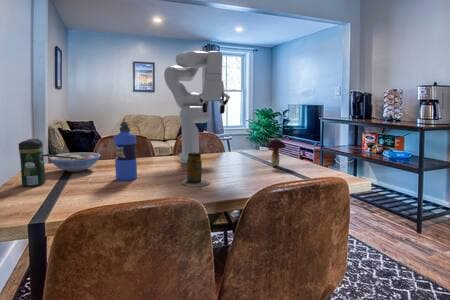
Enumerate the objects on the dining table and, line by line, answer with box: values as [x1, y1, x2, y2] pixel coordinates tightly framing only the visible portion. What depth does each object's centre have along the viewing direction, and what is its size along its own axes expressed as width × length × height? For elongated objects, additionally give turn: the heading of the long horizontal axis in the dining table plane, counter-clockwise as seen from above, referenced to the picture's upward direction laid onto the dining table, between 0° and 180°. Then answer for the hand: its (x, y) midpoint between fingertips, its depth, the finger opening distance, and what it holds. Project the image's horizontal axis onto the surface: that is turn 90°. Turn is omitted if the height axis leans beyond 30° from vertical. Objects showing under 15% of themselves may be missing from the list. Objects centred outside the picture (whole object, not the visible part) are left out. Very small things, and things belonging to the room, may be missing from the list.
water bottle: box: [113, 121, 138, 182], centre depth 143 cm, size 9×9×25 cm
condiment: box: [183, 152, 207, 184], centre depth 136 cm, size 7×8×12 cm
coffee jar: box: [18, 138, 47, 188], centre depth 132 cm, size 10×8×19 cm
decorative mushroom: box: [265, 138, 287, 167], centre depth 173 cm, size 11×11×15 cm
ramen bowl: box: [43, 152, 101, 173], centre depth 159 cm, size 25×23×8 cm
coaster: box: [181, 178, 211, 188], centre depth 137 cm, size 12×12×1 cm
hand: (213, 112), depth 161 cm, fingers open, 9 cm apart
